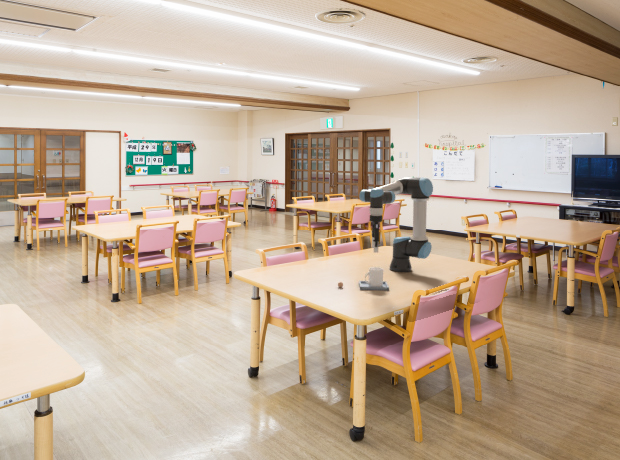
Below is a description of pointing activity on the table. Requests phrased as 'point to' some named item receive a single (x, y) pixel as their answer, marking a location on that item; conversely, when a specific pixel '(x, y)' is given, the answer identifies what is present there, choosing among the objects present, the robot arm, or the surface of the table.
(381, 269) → the mug
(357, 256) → the table surface
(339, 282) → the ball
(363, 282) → the tray
